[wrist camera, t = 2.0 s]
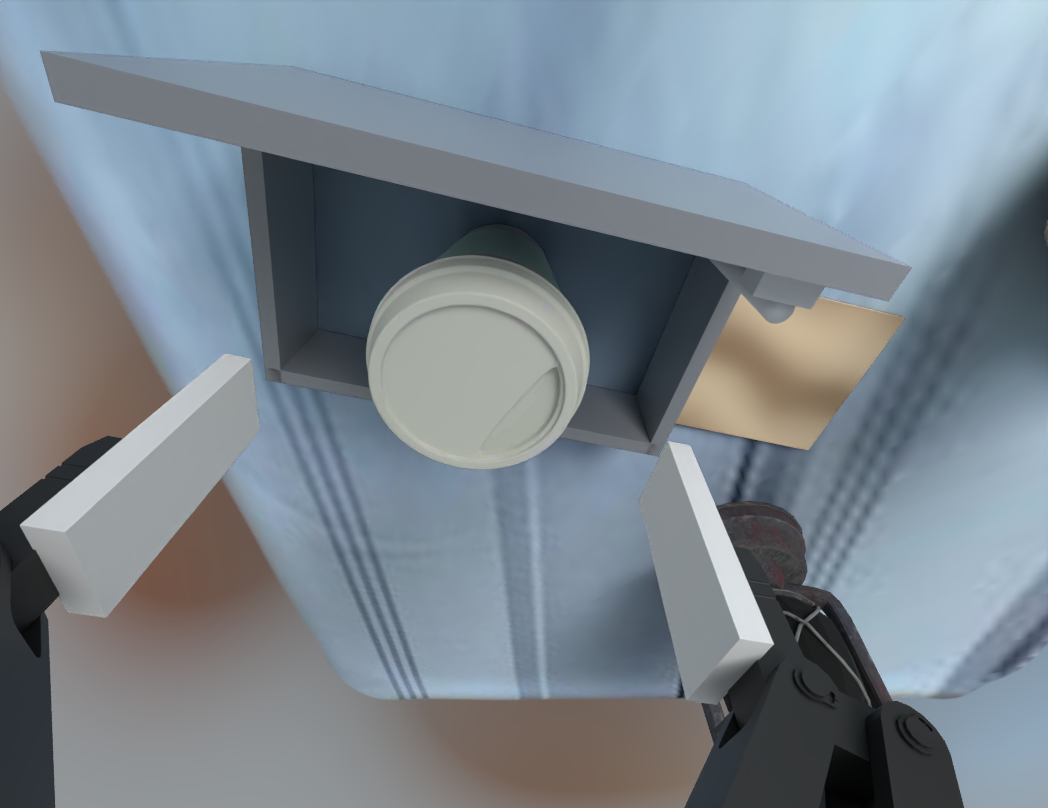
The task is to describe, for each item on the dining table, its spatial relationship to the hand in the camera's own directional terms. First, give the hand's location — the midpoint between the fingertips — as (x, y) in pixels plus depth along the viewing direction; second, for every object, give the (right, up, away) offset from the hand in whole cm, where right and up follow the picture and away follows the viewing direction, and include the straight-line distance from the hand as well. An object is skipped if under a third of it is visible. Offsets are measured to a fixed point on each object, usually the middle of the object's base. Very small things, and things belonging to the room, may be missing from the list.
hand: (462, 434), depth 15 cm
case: (+1, +8, +11) cm, 14 cm away
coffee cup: (+1, +8, +12) cm, 14 cm away
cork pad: (+18, +3, +14) cm, 23 cm away
